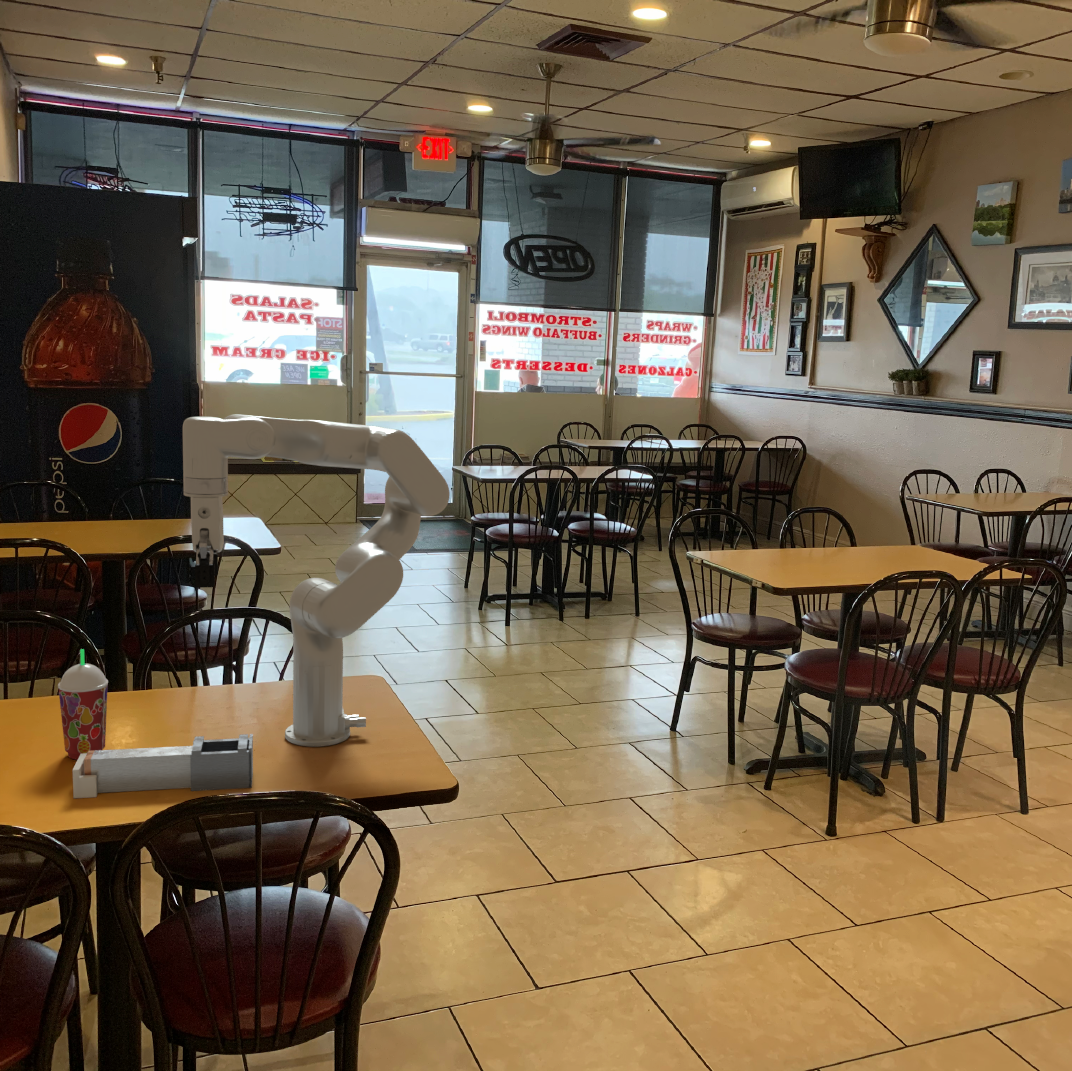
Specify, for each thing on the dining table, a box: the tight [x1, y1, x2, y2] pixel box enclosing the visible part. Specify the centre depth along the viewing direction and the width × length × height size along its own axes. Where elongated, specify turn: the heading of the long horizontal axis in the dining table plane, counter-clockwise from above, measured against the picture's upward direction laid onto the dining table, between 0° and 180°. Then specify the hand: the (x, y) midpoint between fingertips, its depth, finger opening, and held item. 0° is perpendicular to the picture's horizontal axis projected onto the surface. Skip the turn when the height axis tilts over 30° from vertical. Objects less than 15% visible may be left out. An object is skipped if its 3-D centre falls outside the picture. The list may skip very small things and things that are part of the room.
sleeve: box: [190, 733, 254, 792], centre depth 178 cm, size 10×7×7 cm
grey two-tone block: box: [84, 745, 193, 794], centre depth 175 cm, size 18×4×6 cm, turn 104°
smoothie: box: [57, 648, 109, 761], centre depth 186 cm, size 8×8×20 cm
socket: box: [72, 753, 98, 799], centre depth 173 cm, size 4×7×5 cm, turn 14°
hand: (207, 581), depth 184 cm, fingers open, 9 cm apart
